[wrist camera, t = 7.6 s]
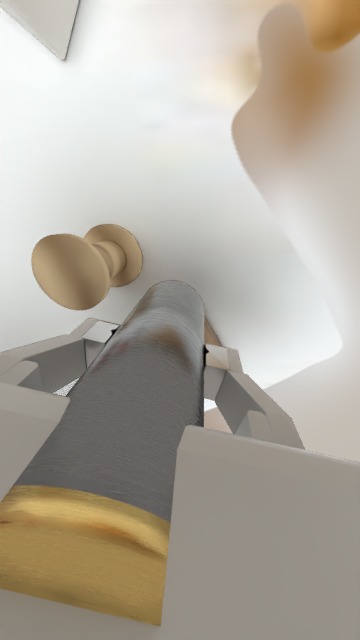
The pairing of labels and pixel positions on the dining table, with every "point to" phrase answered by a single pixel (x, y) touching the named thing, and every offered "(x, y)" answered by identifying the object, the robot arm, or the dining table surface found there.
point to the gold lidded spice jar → (111, 468)
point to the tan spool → (86, 265)
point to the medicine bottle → (45, 20)
